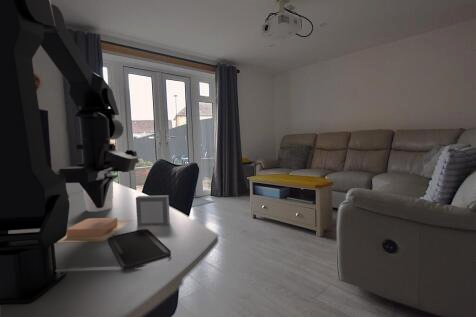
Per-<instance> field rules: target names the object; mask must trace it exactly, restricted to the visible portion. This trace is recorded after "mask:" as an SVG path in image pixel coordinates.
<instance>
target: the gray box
mask: <svg viewBox="0 0 476 317" xmlns="http://www.w3.org/2000/svg"><path fill="white" fill-rule="evenodd" d="M135 207H136V208H135V209H136V224H137V226H138V227H140V226H141V227H142V226H143V227H145V226H148V227H149V226H168V225H169V224H170V222H171V221H170V218H171V217H170V200H169V195H168V194H167V195H165V194H164V195H162V194H161V195H138V196H136V197H135Z"/></svg>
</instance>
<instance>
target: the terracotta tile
mask: <svg viewBox="0 0 476 317" xmlns="http://www.w3.org/2000/svg"><path fill="white" fill-rule="evenodd" d="M117 220H118V217H99V218H98V217H95V218H93V217H91V218H86V219H84V220H82V221H80V222H78V223H76V224H74V225H72V226H70V227H67V237H94V236H102V235H103V234H105V233H106V232H108V231H109V230H111V229H112V228H113V227H115V226H116V225H118V224H117Z"/></svg>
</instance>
